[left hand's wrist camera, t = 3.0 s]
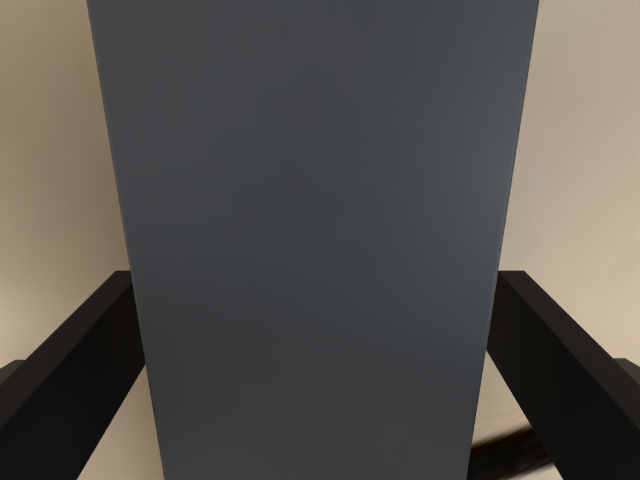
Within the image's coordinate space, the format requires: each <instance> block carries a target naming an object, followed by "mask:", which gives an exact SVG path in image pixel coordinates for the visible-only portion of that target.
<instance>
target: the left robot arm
mask: <svg viewBox="0 0 640 480" xmlns="http://www.w3.org/2000/svg"><path fill="white" fill-rule="evenodd" d="M486 350H487V352H488V354H489V355H490V357H491V359H492V360H493V362H494V364H495V365H496V367H497V369H498V370H499V372H500V374H501V376H502V377H503V379H504V381H505V382H506V384H507V386H508V387H509V389H510V391H511V392H512V394H513V396H514V397H515V399H516V401H517V402H518V404H519V406H520V408H521V409H522V411H523V413H524V414H525V416H526V418H527V419H528V421H529V423H530V424H531V426H532V428H533V429H534V431H535V433H536V434H537V436H538V438H539V440H540V441H541V443H542V445H543V446H544V448H545V450H546V451H547V453H548V455H549V456H550V458H551V460H552V461H553V463H554V465H555V467H556V468H557V470H558V472H559V473H560V475H561V477H562V478H563V480H640V367H639V366H637V365H636V364H634V363H632V362H630V361H629V360H627V359H625V358H612V357H611V356H610V355H609V354H608V353H607V352H606V351H605V350H604V349H603V348H602V347H601V346H600V345H599V344H598V343H597V342H596V341H595V340H594V339H593V338H592V337H591V336H590V335H589V334H588V333H587V332H586V331H585V330H584V329H583V328H582V327H581V326H580V325H579V324H578V323H577V322H576V321H574V320H573V319H572V318H571V317H570V316H569V315H568V314H567V313H566V312H565V311H564V310H563V309H562V308H561V307H560V306H559V305H558V304H557V303H556V302H555V301H554V300H553V299H552V298H551V297H550V296H549V295H548V294H547V293H546V292H545V291H544V290H543V289H542V288H541V287H540V286H539V285H538V284H537V283H536V282H535V281H534V280H533V279H532V278H531V277H530V276H529V275H528V274H527V273H526V272H525V271H498V275H497V282H496V288H495V295H494V301H493V308H492V315H491V321H490V328H489V334H488V341H487V347H486ZM145 364H146V362H145V356H144V350H143V344H142V338H141V332H140V325H139V319H138V313H137V307H136V301H135V295H134V289H133V282H132V276H131V271H115V272H114V273H113V274H112V275H111V276H110V277H109V278H108V279H107V280H106V281H105V282H104V283H103V284H102V285H101V286H100V287H99V288H98V289H97V290H96V291H95V292H94V293H93V294H92V295H91V296H90V297H89V298H88V299H87V300H86V301H85V302H84V303H83V304H82V305H81V306H80V307H79V308H78V309H77V310H76V311H75V312H74V313H73V314H72V315H71V316H70V317H69V318H68V319H67V320H66V321H65V322H63V323H62V324H61V325H60V326H59V327H58V328H57V329H56V330H55V331H54V332H53V333H52V334H51V335H50V336H49V337H48V338H47V339H46V340H45V341H44V342H43V343H42V344H41V345H40V346H39V347H38V348H37V349H36V350H35V351H34V352H33V353H32V354H31V355H30V356H29V357H28V358H27V359H26V360H14V361H13V362H11V363H9V364H7V365H6V366H4V367H2V368H1V369H0V480H77V478H78V477H79V475H80V473H81V472H82V470H83V468H84V467H85V465H86V463H87V461H88V460H89V458H90V456H91V455H92V453H93V451H94V450H95V448H96V446H97V445H98V443H99V441H100V440H101V438H102V436H103V435H104V433H105V431H106V429H107V428H108V426H109V424H110V423H111V421H112V419H113V418H114V416H115V414H116V413H117V411H118V409H119V408H120V406H121V404H122V402H123V401H124V399H125V397H126V396H127V394H128V392H129V391H130V389H131V387H132V386H133V384H134V382H135V381H136V379H137V377H138V376H139V374H140V372H141V370H142V369H143V367H144V365H145Z"/></svg>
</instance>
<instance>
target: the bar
mask: <svg viewBox="0 0 640 480" xmlns="http://www.w3.org/2000/svg"><path fill="white" fill-rule="evenodd" d="M538 5H539V0H87V6H88V12H89V18H90V24H91V30H92V37H93V43H94V49H95V55H96V61H97V67H98V73H99V80H100V86H101V92H102V98H103V104H104V110H105V117H106V123H107V129H108V135H109V141H110V147H111V153H112V160H113V166H114V172H115V178H116V184H117V190H118V196H119V203H120V209H121V215H122V221H123V227H124V233H125V239H126V246H127V252H128V258H129V264H130V270H131V276H132V282H133V289H134V295H135V301H136V307H137V313H138V319H139V325H140V332H141V338H142V344H143V350H144V356H145V362H146V368H147V375H148V381H149V387H150V393H151V399H152V405H153V412H154V418H155V424H156V430H157V436H158V442H159V448H160V455H161V461H162V467H163V473H164V479H165V480H466V476H467V470H468V463H469V457H470V450H471V444H472V437H473V431H474V424H475V418H476V411H477V404H478V398H479V391H480V385H481V378H482V372H483V365H484V359H485V352H486V346H487V339H488V332H489V326H490V319H491V313H492V306H493V300H494V293H495V287H496V280H497V274H498V267H499V260H500V254H501V247H502V241H503V234H504V228H505V221H506V215H507V208H508V202H509V195H510V188H511V182H512V175H513V169H514V162H515V156H516V149H517V143H518V136H519V130H520V123H521V116H522V110H523V103H524V97H525V90H526V84H527V77H528V71H529V64H530V58H531V51H532V44H533V38H534V31H535V25H536V18H537V12H538Z"/></svg>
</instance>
